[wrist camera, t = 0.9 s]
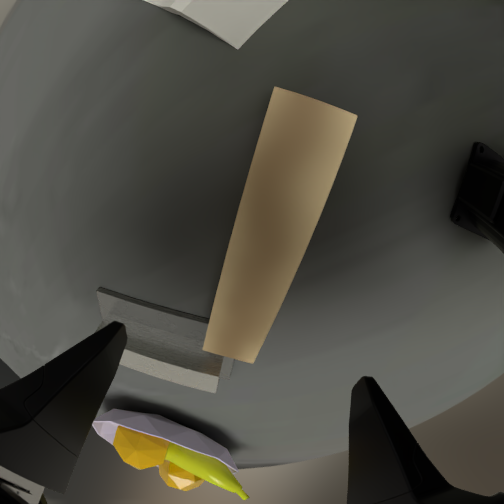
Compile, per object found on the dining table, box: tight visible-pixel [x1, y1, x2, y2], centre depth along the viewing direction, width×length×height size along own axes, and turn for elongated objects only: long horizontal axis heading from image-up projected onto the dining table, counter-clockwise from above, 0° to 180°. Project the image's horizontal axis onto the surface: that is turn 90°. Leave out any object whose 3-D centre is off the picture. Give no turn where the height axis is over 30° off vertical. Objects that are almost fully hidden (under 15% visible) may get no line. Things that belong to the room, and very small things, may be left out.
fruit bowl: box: [92, 409, 249, 500], centre depth 35 cm, size 28×27×11 cm
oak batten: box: [202, 87, 358, 364], centre depth 17 cm, size 4×18×4 cm, turn 165°
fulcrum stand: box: [96, 287, 234, 393], centre depth 23 cm, size 14×8×4 cm, turn 79°
